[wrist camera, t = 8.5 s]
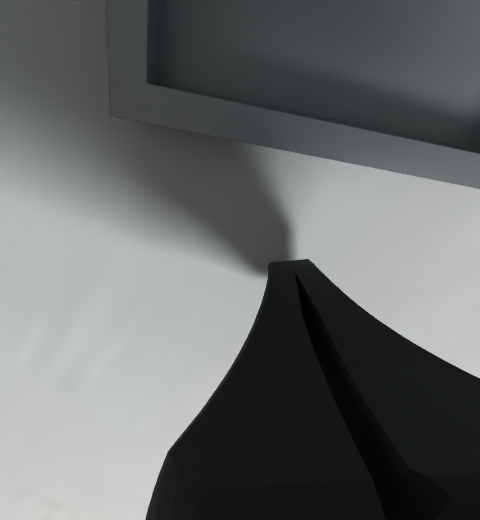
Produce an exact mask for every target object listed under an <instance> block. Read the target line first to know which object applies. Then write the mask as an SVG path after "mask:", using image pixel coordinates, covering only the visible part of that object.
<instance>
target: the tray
mask: <svg viewBox="0 0 480 520" xmlns="http://www.w3.org/2000/svg"><path fill="white" fill-rule="evenodd" d="M106 19H107V44H108V70H109V95H110V116H114V117H119V118H124V119H129V120H134V121H139V122H144V123H149V124H154V125H159V126H164V127H169V128H174V129H180V130H185V131H190V132H195V133H200V134H205V135H210V136H215V137H220V138H225V139H230V140H235V141H240V142H245V143H250V144H255V145H261V146H266V147H271V148H276V149H281V150H286V151H291V152H296V153H301V154H306V155H311V156H316V157H321V158H326V159H331V160H337V161H342V162H347V163H352V164H357V165H362V166H367V167H372V168H377V169H382V170H387V171H392V172H397V173H402V174H407V175H413V176H418V177H423V178H428V179H433V180H438V181H443V182H448V183H453V184H458V185H463V186H468V187H473V188H478V189H480V0H106Z"/></svg>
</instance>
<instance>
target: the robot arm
mask: <svg viewBox="0 0 480 520" xmlns="http://www.w3.org/2000/svg"><path fill="white" fill-rule="evenodd" d="M146 520H480V378H478V377H476V376H473V375H471V374H469V373H467V372H465V371H463V370H461V369H459V368H458V367H456V366H454V365H452V364H450V363H448V362H446V361H444V360H442V359H441V358H439V357H437V356H435V355H433V354H432V353H430V352H428V351H426V350H425V349H423V348H421V347H419V346H418V345H416V344H414V343H413V342H411V341H409V340H408V339H406V338H404V337H403V336H401V335H400V334H398V333H397V332H395V331H394V330H392V329H391V328H389V327H388V326H386V325H385V324H383V323H382V322H380V321H379V320H377V319H376V318H375V317H373V316H372V315H370V314H369V313H368V312H367V311H365V310H364V309H363V308H361V307H360V306H359V305H358V304H356V303H355V302H354V301H353V300H352V299H350V298H349V297H348V296H347V295H346V294H345V293H344V292H342V291H341V290H340V289H339V288H338V287H337V286H336V285H335V284H334V283H332V282H331V281H330V280H329V279H328V278H327V277H326V276H325V275H324V274H323V273H322V272H321V271H320V270H319V269H318V268H317V267H316V266H315V265H314V264H313V263H312V262H311V261H310V260H309V259H304V260H293V261H283V262H272V263H270V264H269V265H268V280H267V285H266V289H265V293H264V296H263V300H262V303H261V306H260V309H259V311H258V314H257V316H256V319H255V322H254V324H253V326H252V329H251V331H250V333H249V335H248V337H247V339H246V341H245V343H244V345H243V347H242V349H241V351H240V352H239V354H238V356H237V358H236V359H235V361H234V363H233V365H232V366H231V368H230V370H229V371H228V373H227V374H226V376H225V377H224V379H223V380H222V382H221V383H220V385H219V386H218V388H217V389H216V390H215V392H214V393H213V395H212V396H211V398H210V399H209V400H208V402H207V403H206V405H205V406H204V407H203V409H202V410H201V411H200V413H199V414H198V415H197V416H196V418H195V419H194V420H193V421H192V423H191V424H190V425H189V426H188V427H187V429H186V430H185V431H184V432H183V434H182V435H181V436H180V437H179V438H178V440H177V441H176V442H175V443H174V445H173V446H172V447H171V448H170V450H169V451H168V453H167V456H166V458H165V460H164V463H163V466H162V468H161V471H160V473H159V476H158V479H157V482H156V485H155V488H154V491H153V494H152V498H151V501H150V504H149V507H148V511H147V515H146Z"/></svg>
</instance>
